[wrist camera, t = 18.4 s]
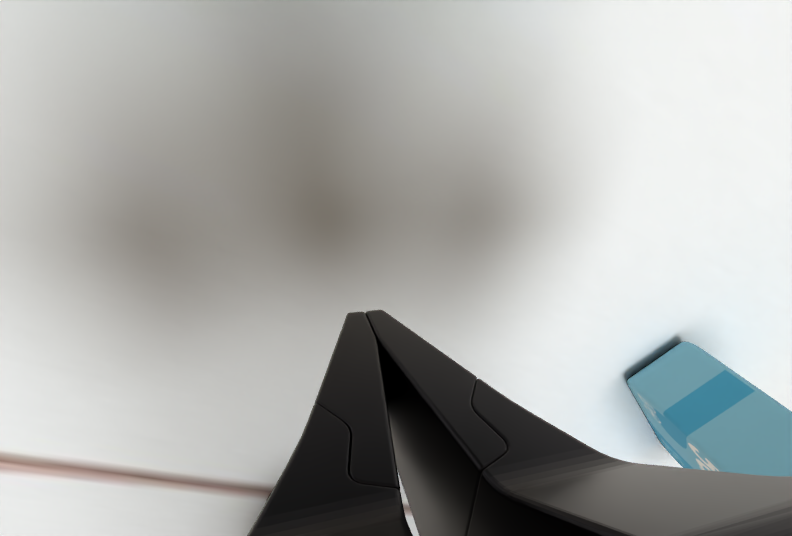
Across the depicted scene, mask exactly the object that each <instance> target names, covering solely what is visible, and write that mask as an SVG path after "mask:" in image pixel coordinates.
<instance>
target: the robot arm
mask: <svg viewBox="0 0 792 536" xmlns="http://www.w3.org/2000/svg"><path fill="white" fill-rule="evenodd" d="M397 469H398V472H399V475H400V478H401V481H402V484H403V487H404V490H405V493H406V496H407V499H408V502H409V505H410V508H411V511H412V515H413V518H414V521H415V524H416V527H417V530H418V533H419V536H792V476H764V475H751V474H741V473H731V472H720V471H710V470H699V469H689V468H678V467H668V466H657V465H647V464H637V463H631V462H626V461H622V460H618V459H615V458H612V457H610V456H607V455H605V454H603V453H600V452H598V451H597V450H595V449H593V448H591V447H589V446H587V445H586V444H584V443H582V442H581V441H579V440H577V439H575V438H574V437H572V436H570V435H569V434H567V433H565V432H563V431H562V430H560V429H558V428H556V427H555V426H553V425H551V424H550V423H548V422H546V421H544V420H543V419H541V418H539V417H538V416H536V415H534V414H532V413H531V412H529V411H528V410H526V409H524V408H523V407H521V406H519V405H518V404H516V403H514V402H513V401H511V400H510V399H508V398H507V397H505V396H504V395H502V394H501V393H499V392H498V391H496V390H495V389H493V388H492V387H490V386H489V385H488V384H486V383H485V382H483V381H482V380H481V379H477V377H476V376H475V375H473V374H472V373H470V372H469V371H468V370H466V369H465V368H463V367H462V366H461V365H459V364H458V363H456V362H455V361H454V360H452V359H451V358H449V357H448V356H446V355H445V354H444V353H442V352H441V351H439V350H438V349H437V348H435V347H434V346H432V345H431V344H430V343H428V342H427V341H425V340H424V339H423V338H421V337H420V336H418V335H417V334H415V333H414V332H413V331H411V330H410V329H408V328H407V327H406V326H404V325H403V324H401V323H400V322H399V321H397V320H396V319H394V318H393V317H392V316H390V315H389V314H387V313H386V312H384V311H383V310H373V311H367V312H366V313H364V312H354V313H348V314H347V316H346V319H345V322H344V324H343V327H342V330H341V332H340V335H339V338H338V341H337V343H336V346H335V349H334V352H333V354H332V357H331V360H330V363H329V365H328V368H327V371H326V374H325V376H324V379H323V382H322V384H321V387H320V390H319V393H318V395H317V398H316V401H315V405H314V406H313V408H312V411H311V414H310V417H309V419H308V422H307V424H306V426H305V429H304V431H303V434H302V436H301V438H300V440H299V442H298V444H297V446H296V448H295V450H294V452H293V454H292V456H291V458H290V460H289V462H288V464H287V466H286V467H285V469H284V471H283V473H282V475H281V477H280V478H279V480H278V482H277V484H276V486H275V487H274V489H273V491H272V493H271V495H270V497H269V498H268V499H267V502H266V504H265V506H264V507H263V509H262V511H261V513H260V515H259V517H258V518H257V520H256V522H255V524H254V525H253V527H252V529H251V530H250V532H249V534H248V535H247V536H413V535H412V533H411V531H410V528H409V526H408V523H407V521H406V518H405V513H404V509H403V504H402V498H401V493H400V485H399V478H398V472H397Z"/></svg>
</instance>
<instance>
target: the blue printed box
mask: <svg viewBox="0 0 792 536" xmlns="http://www.w3.org/2000/svg"><path fill="white" fill-rule="evenodd" d="M627 383H628V386H629V388H630V390H631V391H632V393H633V395H634V397H635V398H636V400H637V402H638V404H639V405H640V407H641V409H642V411H643V412H644V414H645V416H646V418H647V419H648V421H649V423H650V425H651V426H652V428H653V430H654V432H655V433H656V435H657V437H658V439H659V440H660V442H661V443H662V445H663V446H664V447H665V448H666V450H667V451H668V452H669V453H670V454H671V455H672V456H673V457H674V459H675V460H676V461H677V462H678V463H679V464H680V465H681V466H682V467H683V468H689V469H699V470H710V471H720V472H731V473H741V474H751V475H764V476H792V412H791V411H790V410H788V409H787V408H786V407H784V406H783V405H781V404H780V403H778V402H777V401H776V400H774V399H773V398H771V397H770V396H768V395H767V394H766V393H764V392H763V391H761V390H760V389H758V388H757V387H756V386H754V385H753V384H751V383H750V382H748V381H747V380H745V379H744V378H743V377H741V376H740V375H738V374H737V373H735V372H734V371H733V370H731V369H730V368H728V367H727V366H725V365H724V364H723V363H721V362H720V361H718V360H717V359H715V358H714V357H713V356H711V355H710V354H708V353H707V352H705V351H704V350H702V349H701V348H699V347H698V346H696V345H694V344H692V343H689V342H681V343H679V344H678V345H676V346H675V347H674V348H672V349H671V350H669V351H668V352H666V353H665V354H664V355H662V356H661V357H659V358H658V359H656V360H655V361H654V362H652V363H651V364H649V365H648V366H646V367H645V368H644V369H642V370H641V371H639V372H638V373H636V374H635V375H634V376H632V377H631V378H629V379H628V381H627Z"/></svg>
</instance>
